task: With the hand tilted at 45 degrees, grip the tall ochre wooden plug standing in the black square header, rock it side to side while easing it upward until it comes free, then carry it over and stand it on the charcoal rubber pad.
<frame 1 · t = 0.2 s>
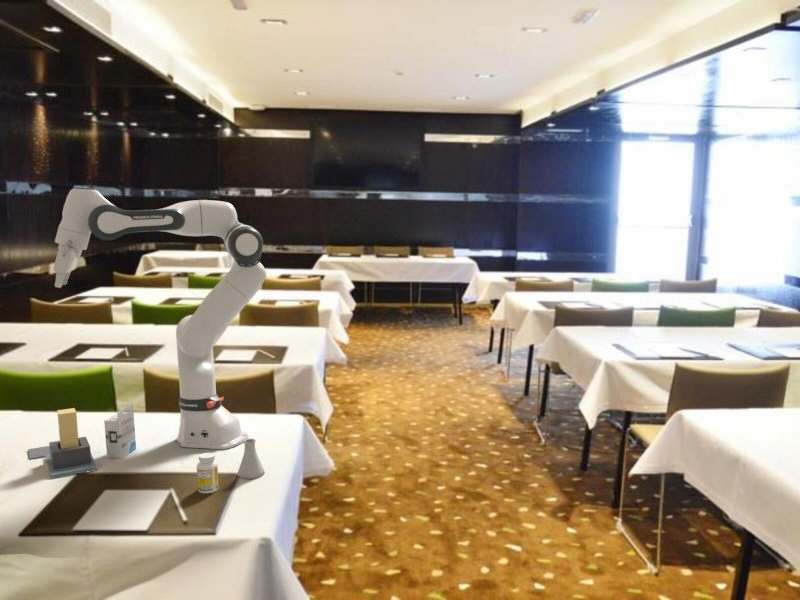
hand: (60, 285, 222), 51 cm above the table, tool tilted 15°, fingers open, 8 cm apart
board: (71, 464, 220), on the table
supplement bottle: (208, 490, 200), on the table
pad: (45, 452, 230), on the table
header: (70, 452, 219), on the board, point 4 cm above the table
flask: (251, 475, 210), on the table
ink box: (121, 454, 228), on the table
plug: (70, 457, 219), point 2 cm above the table, touching header
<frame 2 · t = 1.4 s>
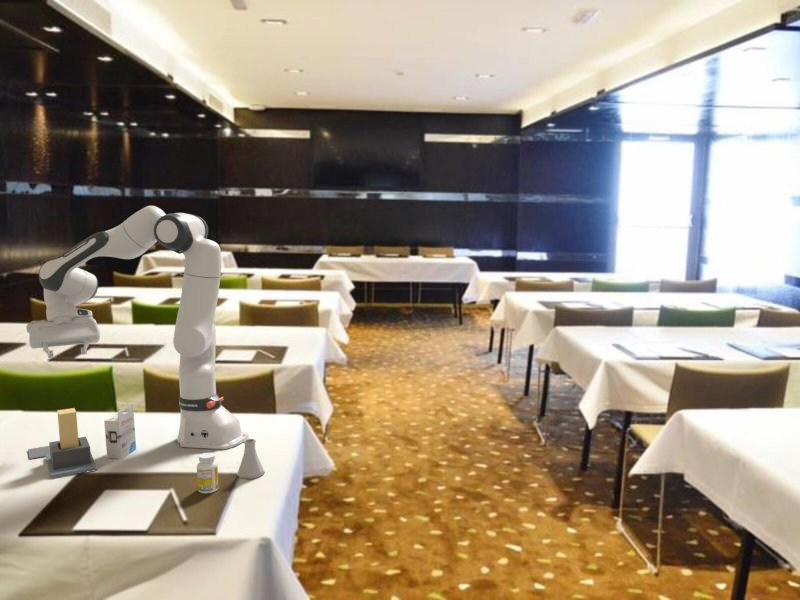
hand: (67, 355, 231), 29 cm above the table, tool tilted 45°, fingers open, 8 cm apart
nothing on the table moved.
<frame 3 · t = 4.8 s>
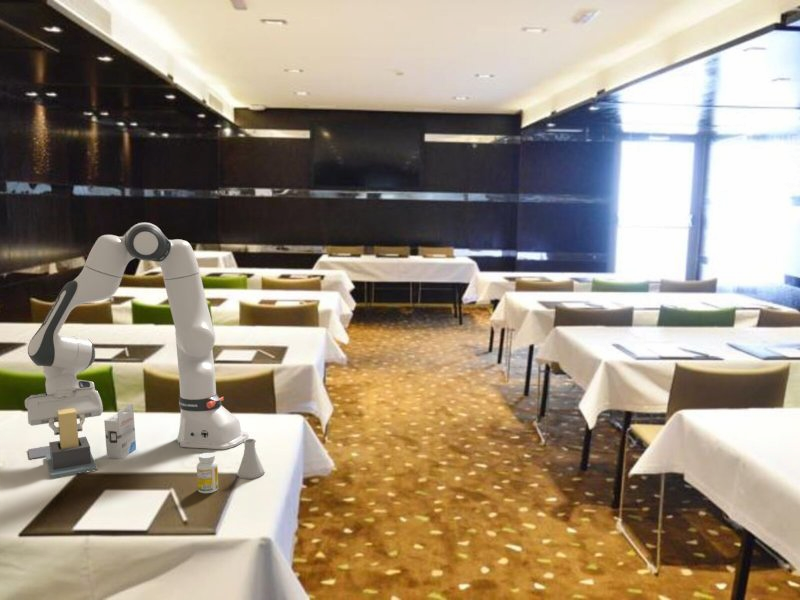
hand: (68, 432, 218), 10 cm above the table, tool tilted 45°, fingers closed on plug, 5 cm apart
plug: (70, 457, 219), point 2 cm above the table, touching gripper, header
everything else where it was.
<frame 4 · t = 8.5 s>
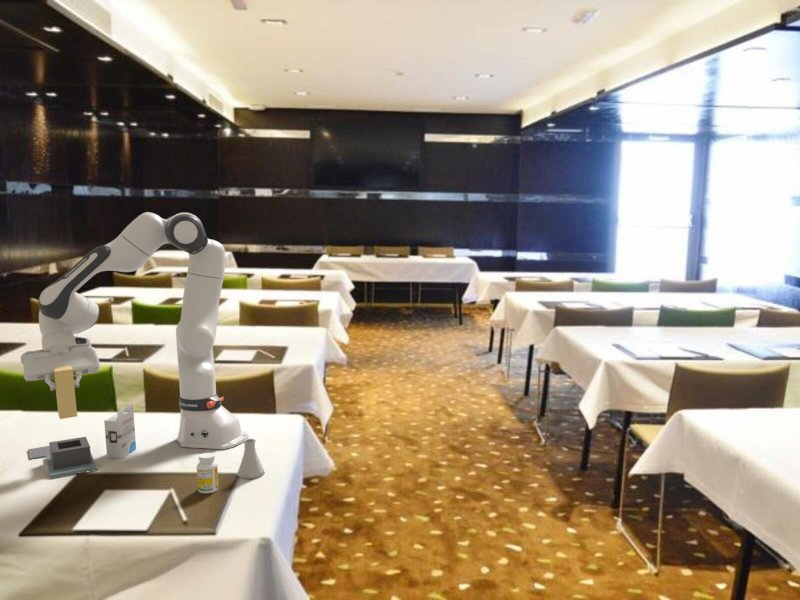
hand: (65, 387, 215), 23 cm above the table, tool tilted 45°, fingers closed on plug, 5 cm apart
plug: (67, 415, 217), point 15 cm above the table, touching gripper
everything else where it was.
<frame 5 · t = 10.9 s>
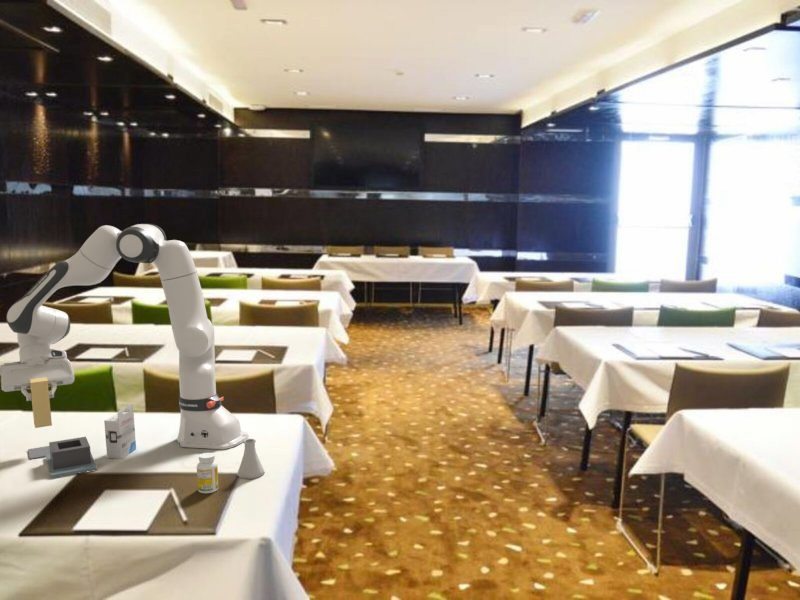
hand: (40, 398, 226), 17 cm above the table, tool tilted 45°, fingers closed on plug, 5 cm apart
plug: (43, 424, 228), point 9 cm above the table, touching gripper
everything else where it was.
when the fingers open (10 cm above the table, at t = 12.6 s): plug stays where it is, resting on pad.
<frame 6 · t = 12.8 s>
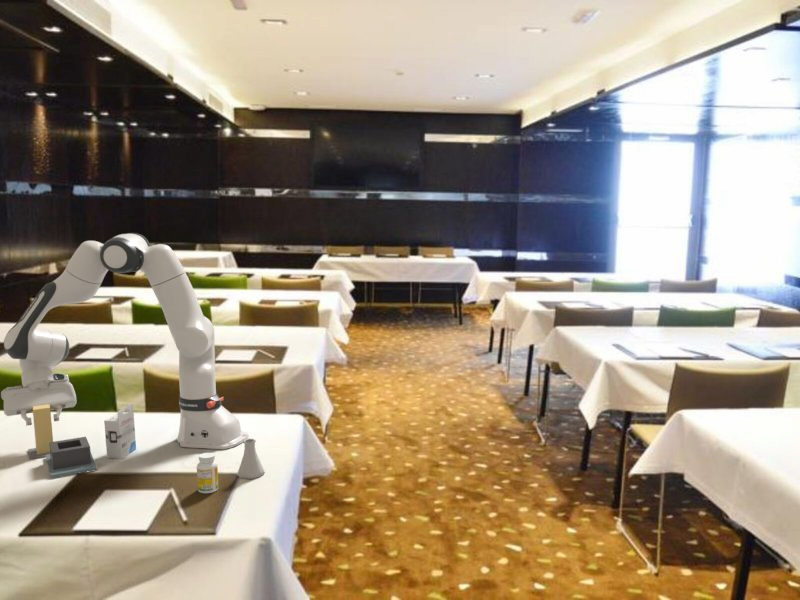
hand: (43, 422, 228), 10 cm above the table, tool tilted 45°, fingers open, 6 cm apart
plug: (45, 451, 229), resting on pad
everything else where it was.
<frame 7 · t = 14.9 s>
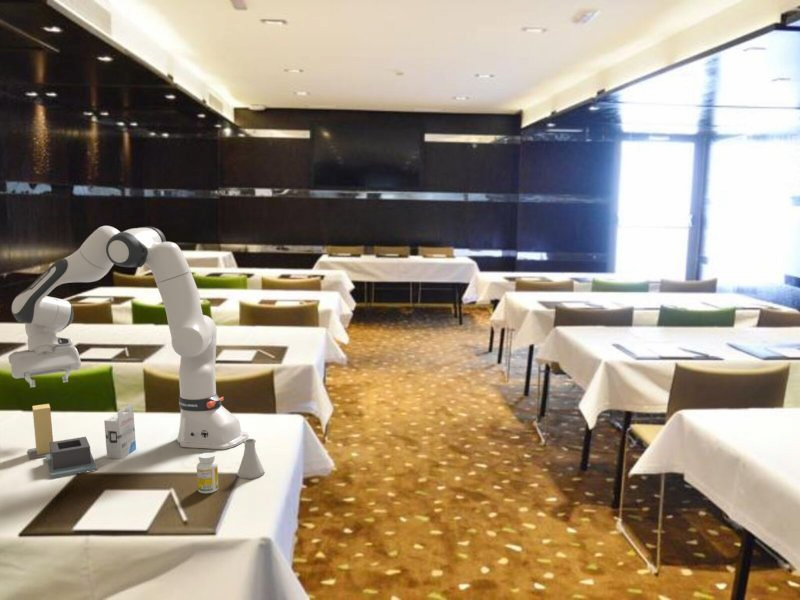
hand: (49, 383, 237), 19 cm above the table, tool tilted 45°, fingers open, 8 cm apart
nothing on the table moved.
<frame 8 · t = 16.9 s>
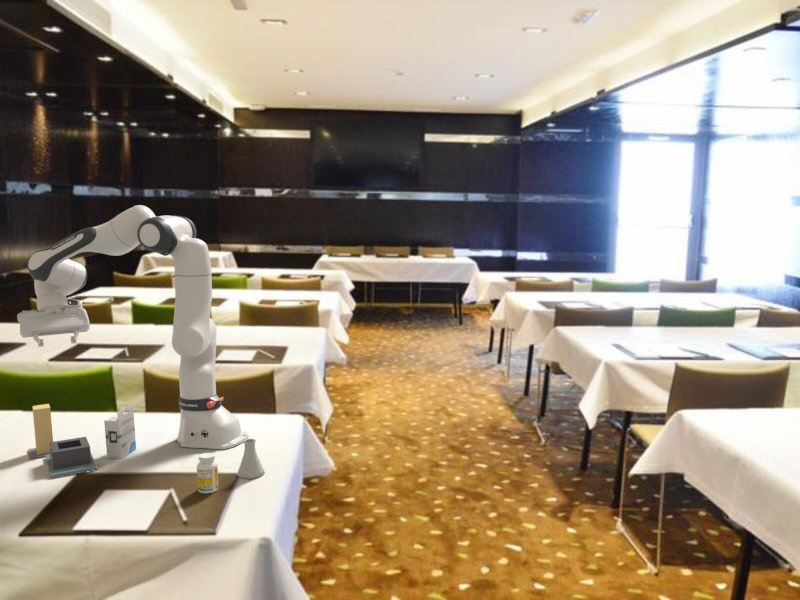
hand: (57, 344, 235), 31 cm above the table, tool tilted 45°, fingers open, 8 cm apart
nothing on the table moved.
at the end: plug 0.1 cm from the pad (horizontally); plug resting on pad; plug tilted 0° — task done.
